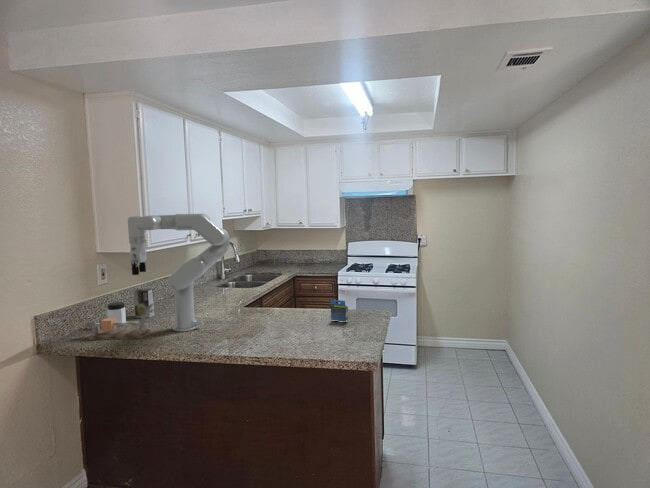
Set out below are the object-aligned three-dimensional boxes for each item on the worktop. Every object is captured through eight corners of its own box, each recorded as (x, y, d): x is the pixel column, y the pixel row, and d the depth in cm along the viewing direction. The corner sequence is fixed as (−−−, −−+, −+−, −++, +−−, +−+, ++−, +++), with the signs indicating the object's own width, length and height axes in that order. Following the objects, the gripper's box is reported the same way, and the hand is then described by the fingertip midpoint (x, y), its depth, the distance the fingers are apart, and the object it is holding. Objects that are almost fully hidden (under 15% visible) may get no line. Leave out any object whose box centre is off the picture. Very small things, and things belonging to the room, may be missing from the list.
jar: (105, 325, 230) (103, 304, 229) (118, 322, 237) (117, 301, 236) (115, 327, 226) (114, 306, 225) (129, 324, 233) (127, 302, 232)
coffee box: (155, 315, 252) (153, 288, 250) (149, 318, 245) (148, 290, 244) (140, 315, 253) (139, 288, 251) (134, 317, 246) (133, 290, 245)
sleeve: (116, 327, 213) (115, 318, 213) (111, 330, 208) (111, 320, 208) (105, 328, 213) (105, 318, 212) (101, 331, 208) (100, 321, 208)
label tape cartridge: (348, 321, 229) (348, 299, 228) (345, 323, 226) (345, 300, 225) (333, 320, 233) (333, 298, 232) (330, 321, 229) (330, 299, 228)
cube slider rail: (149, 331, 217) (148, 315, 216) (142, 337, 207) (141, 321, 206) (94, 333, 215) (93, 317, 215) (84, 340, 205) (83, 323, 205)
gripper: (138, 241, 208) (140, 275, 210) (150, 238, 225) (152, 270, 227) (122, 242, 208) (125, 276, 209) (135, 239, 225) (138, 271, 226)
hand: (139, 273), depth 218 cm, fingers open, 9 cm apart
